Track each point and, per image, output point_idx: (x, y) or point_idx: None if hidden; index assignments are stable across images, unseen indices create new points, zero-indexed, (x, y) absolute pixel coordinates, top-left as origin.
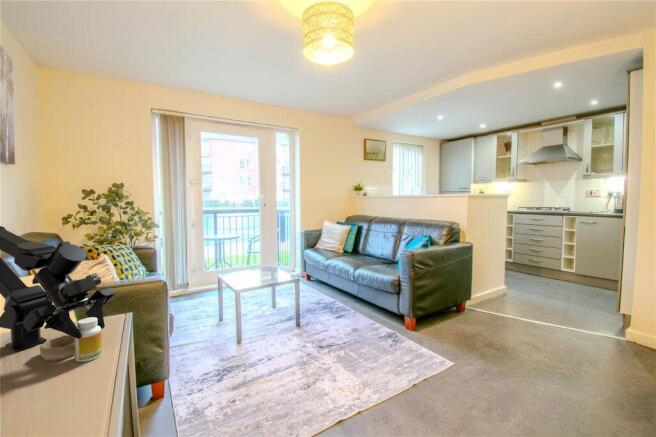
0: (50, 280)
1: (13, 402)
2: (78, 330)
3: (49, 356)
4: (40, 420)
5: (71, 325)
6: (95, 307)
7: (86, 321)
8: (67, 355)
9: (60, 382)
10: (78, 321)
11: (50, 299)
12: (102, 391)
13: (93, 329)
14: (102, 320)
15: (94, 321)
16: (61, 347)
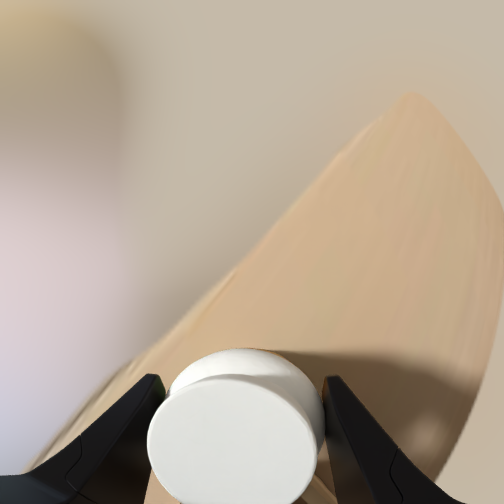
0: None
1: (490, 312)
2: (341, 408)
3: (335, 499)
4: (473, 183)
5: (387, 454)
6: None
7: (255, 441)
8: None
9: (410, 301)
10: (286, 502)
11: None
12: (371, 147)
13: (239, 371)
14: (124, 405)
15: (214, 378)
16: (312, 495)
